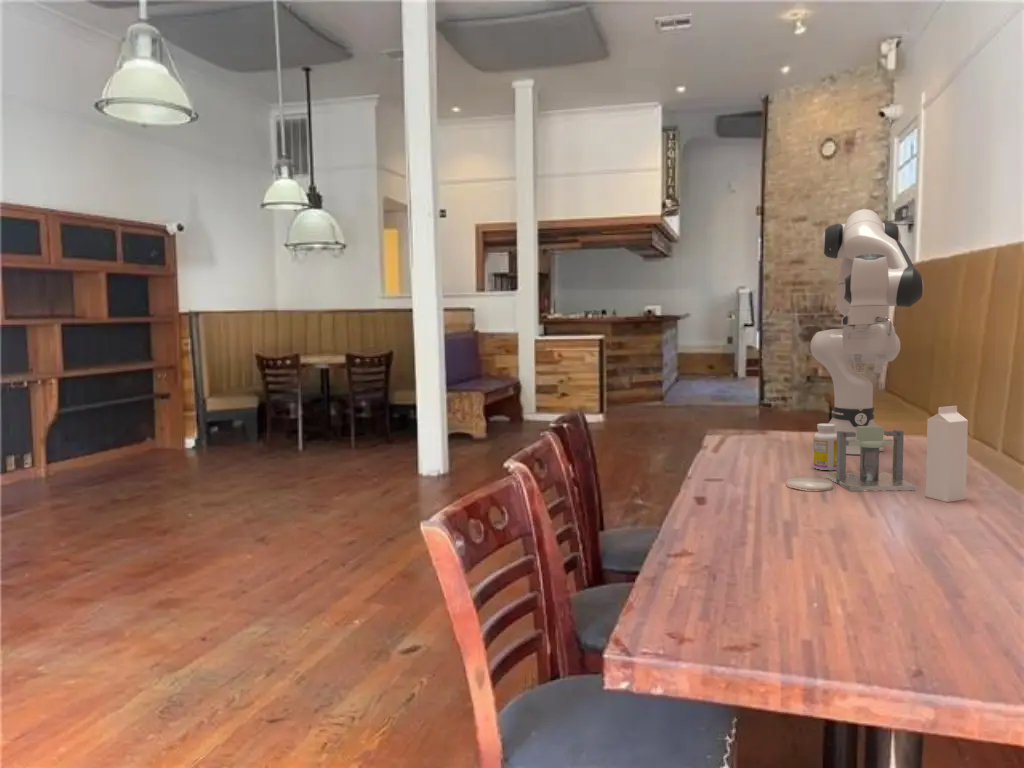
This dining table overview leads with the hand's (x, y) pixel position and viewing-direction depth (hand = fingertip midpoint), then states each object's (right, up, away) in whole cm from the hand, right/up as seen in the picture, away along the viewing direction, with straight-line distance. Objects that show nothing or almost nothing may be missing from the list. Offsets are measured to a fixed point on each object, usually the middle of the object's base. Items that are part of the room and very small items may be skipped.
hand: (868, 372), depth 191 cm
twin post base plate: (+2, -29, +3) cm, 29 cm away
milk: (+12, -30, -13) cm, 35 cm away
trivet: (-14, -30, +2) cm, 33 cm away
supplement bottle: (-1, -28, +23) cm, 36 cm away
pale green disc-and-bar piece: (+2, -19, +3) cm, 19 cm away
